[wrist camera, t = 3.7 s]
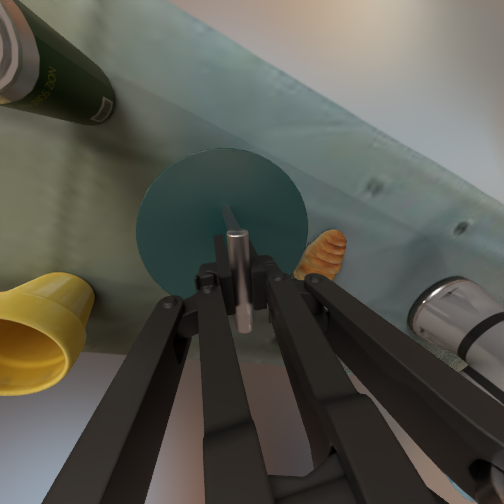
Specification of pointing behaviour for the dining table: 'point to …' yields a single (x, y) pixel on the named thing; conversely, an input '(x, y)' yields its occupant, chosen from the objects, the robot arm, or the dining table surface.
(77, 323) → the flower pot
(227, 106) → the dining table surface
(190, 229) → the lid
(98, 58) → the dining table surface
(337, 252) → the pastry
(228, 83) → the dining table surface
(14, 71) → the beer can
